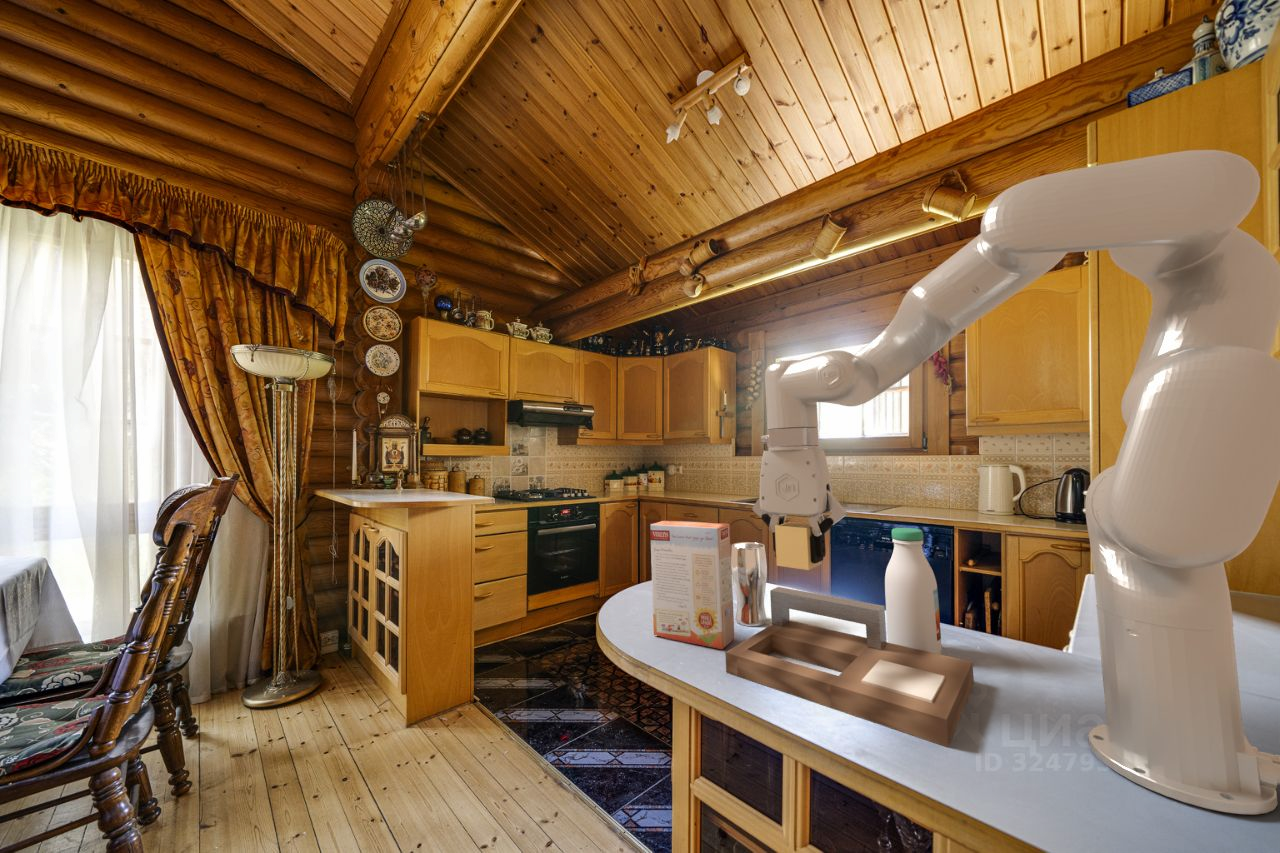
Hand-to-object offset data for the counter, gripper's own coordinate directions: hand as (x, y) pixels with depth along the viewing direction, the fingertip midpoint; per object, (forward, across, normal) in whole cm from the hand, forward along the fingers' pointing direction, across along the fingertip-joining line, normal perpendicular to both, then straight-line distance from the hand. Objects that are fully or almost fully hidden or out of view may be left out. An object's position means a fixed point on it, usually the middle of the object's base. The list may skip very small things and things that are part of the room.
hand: (799, 558), depth 72 cm
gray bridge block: (+14, 0, +10) cm, 17 cm away
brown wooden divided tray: (+17, +5, +2) cm, 18 cm away
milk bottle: (+18, +10, +19) cm, 28 cm away
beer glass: (+17, -18, +15) cm, 29 cm away
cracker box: (+17, -22, +1) cm, 28 cm away
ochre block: (+1, 0, 0) cm, 1 cm away
